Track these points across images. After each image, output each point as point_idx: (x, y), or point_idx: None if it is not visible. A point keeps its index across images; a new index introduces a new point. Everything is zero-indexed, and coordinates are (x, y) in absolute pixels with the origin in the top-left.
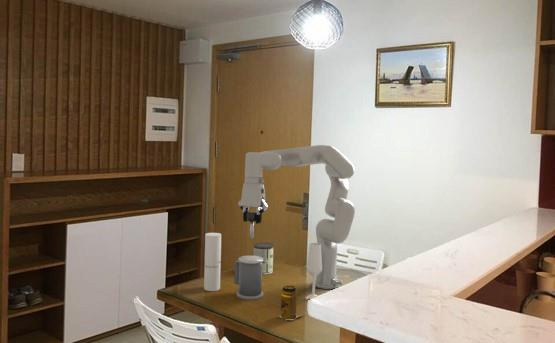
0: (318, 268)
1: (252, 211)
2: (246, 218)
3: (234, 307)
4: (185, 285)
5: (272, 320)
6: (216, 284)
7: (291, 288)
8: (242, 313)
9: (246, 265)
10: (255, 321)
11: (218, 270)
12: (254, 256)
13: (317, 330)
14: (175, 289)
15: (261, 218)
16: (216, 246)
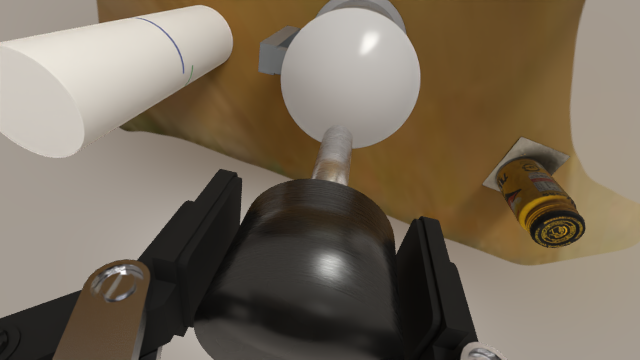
0: None
1: (253, 299)
2: (227, 240)
3: (353, 162)
4: None
5: (474, 204)
6: (222, 57)
7: (567, 236)
8: (388, 190)
9: None
10: None
11: (201, 61)
12: (348, 28)
13: (599, 222)
14: None
15: (461, 290)
16: (131, 112)
